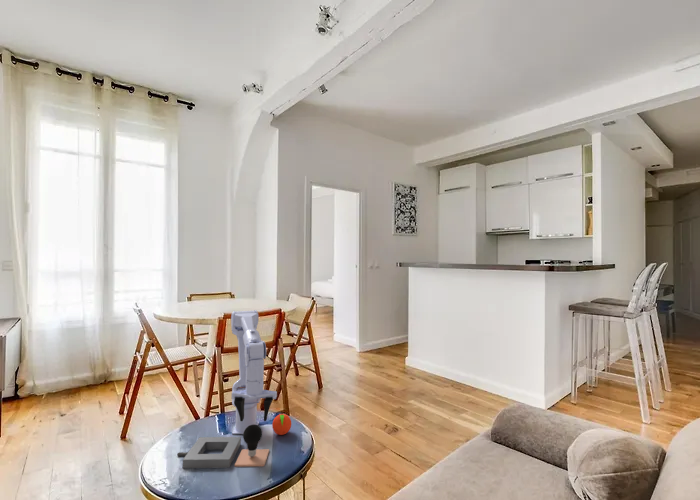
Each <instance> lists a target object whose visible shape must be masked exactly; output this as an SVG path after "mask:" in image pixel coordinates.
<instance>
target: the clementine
mask: <svg viewBox="0 0 700 500" xmlns="http://www.w3.org/2000/svg"><path fill="white" fill-rule="evenodd" d="M271 427H272V430H273V432H274V433H275V434H276V435H279V436H283V435H285V434H288V433H289V432H290V430H291V427H292V420H291V418H290V416H289V415H287V414H286V413H279V414H278V415H276V416H275V417H274V419H273V420H272V425H271Z"/></svg>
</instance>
